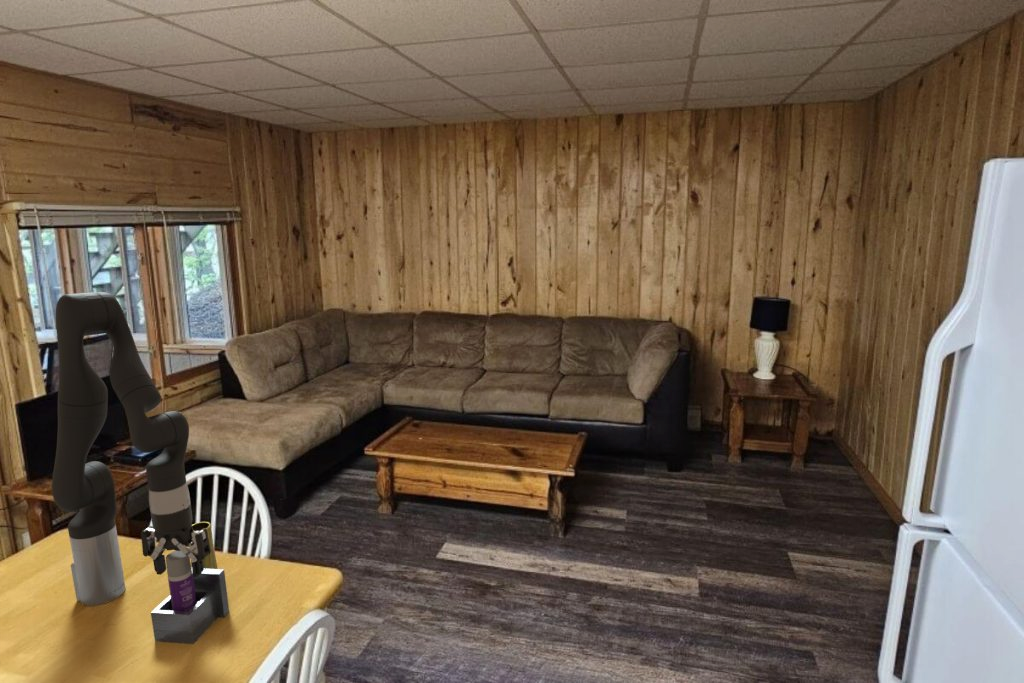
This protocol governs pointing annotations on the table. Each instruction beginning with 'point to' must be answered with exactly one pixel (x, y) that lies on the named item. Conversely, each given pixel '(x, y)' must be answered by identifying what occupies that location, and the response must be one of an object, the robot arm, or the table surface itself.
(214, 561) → the vase
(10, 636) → the table surface
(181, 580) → the container
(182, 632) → the cup bracket
